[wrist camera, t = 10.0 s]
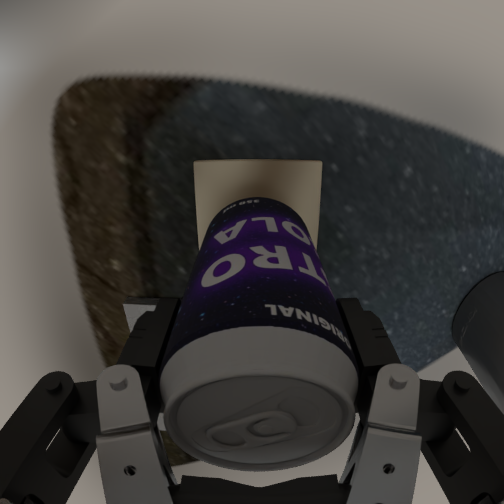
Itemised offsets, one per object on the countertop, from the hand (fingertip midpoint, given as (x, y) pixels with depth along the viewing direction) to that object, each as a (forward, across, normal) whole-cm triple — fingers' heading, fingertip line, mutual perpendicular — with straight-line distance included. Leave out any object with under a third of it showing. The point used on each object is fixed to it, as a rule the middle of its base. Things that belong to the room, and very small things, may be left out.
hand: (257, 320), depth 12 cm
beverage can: (+7, 0, 0) cm, 7 cm away
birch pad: (+11, 0, 0) cm, 11 cm away
